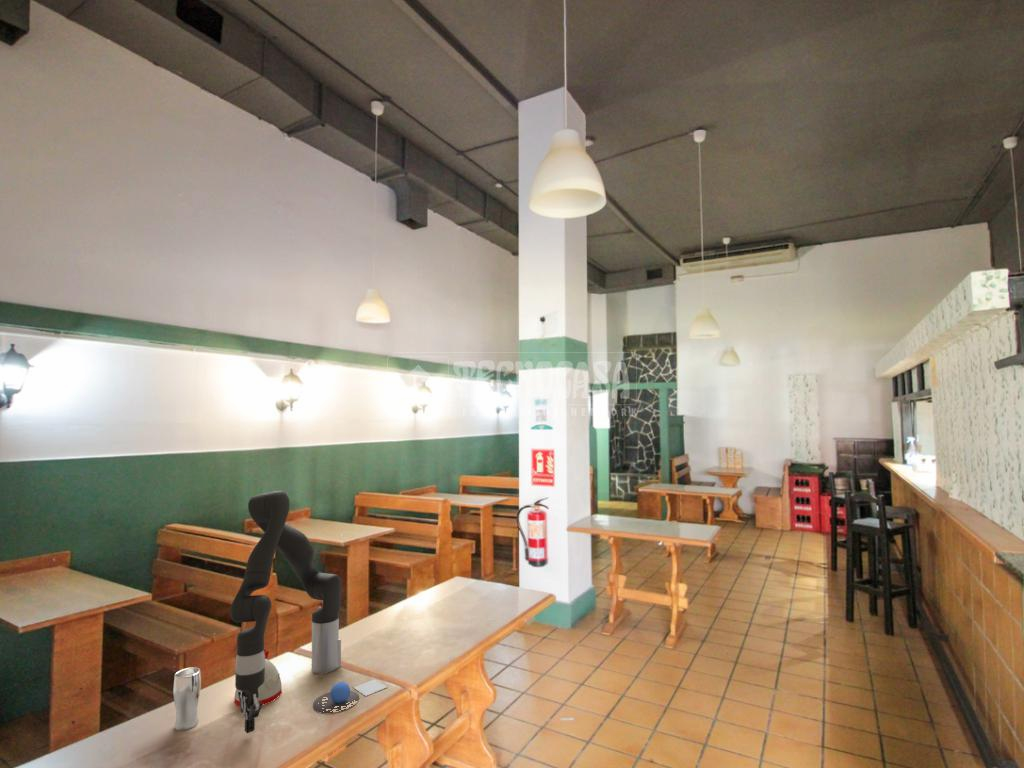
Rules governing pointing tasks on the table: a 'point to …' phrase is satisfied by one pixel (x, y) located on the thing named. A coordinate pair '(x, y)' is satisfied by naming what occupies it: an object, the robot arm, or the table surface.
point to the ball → (340, 692)
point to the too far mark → (370, 687)
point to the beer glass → (186, 697)
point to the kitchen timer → (267, 684)
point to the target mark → (331, 704)
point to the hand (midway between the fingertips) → (249, 731)
